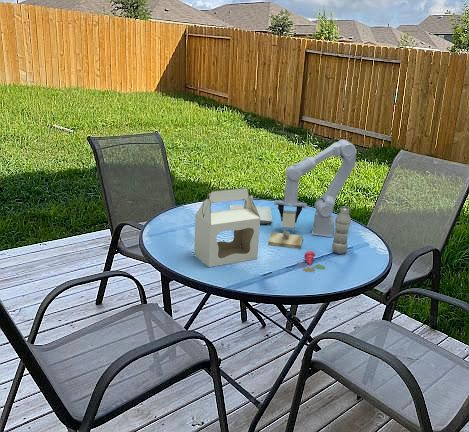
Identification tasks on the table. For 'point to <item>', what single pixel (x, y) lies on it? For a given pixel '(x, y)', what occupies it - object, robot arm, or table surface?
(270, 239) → the plate
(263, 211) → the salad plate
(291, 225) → the pale matte cube
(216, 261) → the gable box
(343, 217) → the plastic bottle
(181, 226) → the table surface
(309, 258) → the toy pieces
